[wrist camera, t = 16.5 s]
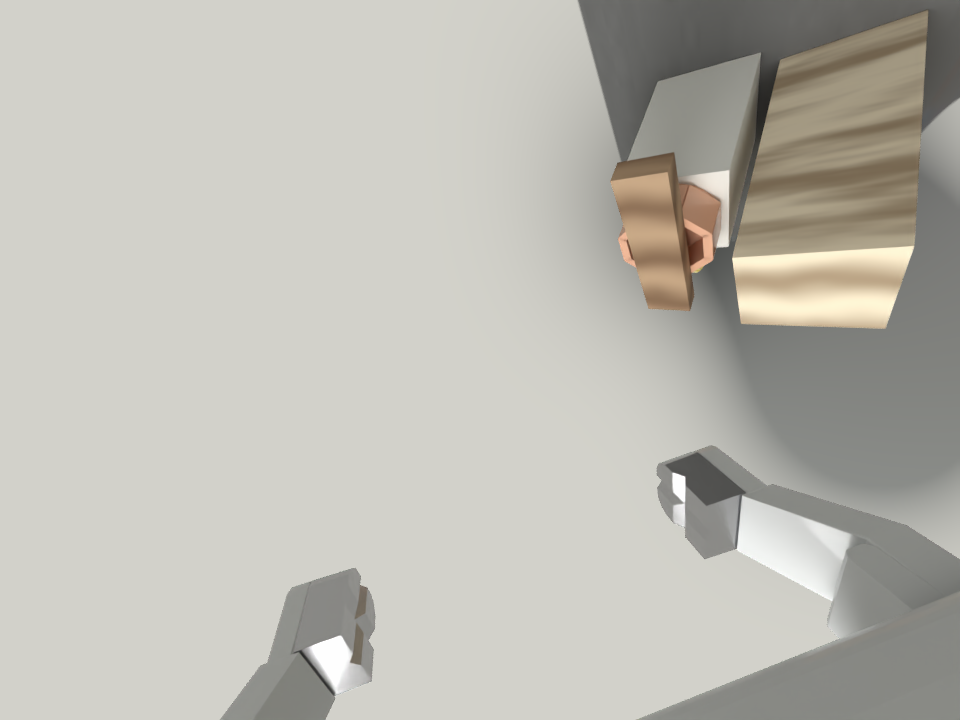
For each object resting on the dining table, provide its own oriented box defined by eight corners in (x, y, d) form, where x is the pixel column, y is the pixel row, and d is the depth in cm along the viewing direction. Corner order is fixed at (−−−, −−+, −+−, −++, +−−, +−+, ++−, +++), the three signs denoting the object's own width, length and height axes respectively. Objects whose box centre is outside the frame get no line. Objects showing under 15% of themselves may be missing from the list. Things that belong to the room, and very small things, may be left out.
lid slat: (617, 162, 33) (610, 181, 32) (674, 152, 30) (667, 172, 29) (653, 294, 46) (648, 308, 46) (694, 295, 44) (690, 310, 43)
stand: (780, 59, 39) (732, 257, 31) (928, 9, 32) (914, 245, 24) (780, 144, 46) (741, 323, 38) (902, 117, 39) (885, 328, 31)
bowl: (624, 188, 40) (612, 221, 39) (721, 176, 35) (711, 213, 33) (638, 246, 47) (628, 275, 45) (722, 243, 41) (713, 276, 40)
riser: (657, 81, 45) (617, 185, 40) (761, 52, 39) (729, 170, 34) (667, 154, 52) (634, 249, 47) (755, 139, 46) (728, 246, 41)
